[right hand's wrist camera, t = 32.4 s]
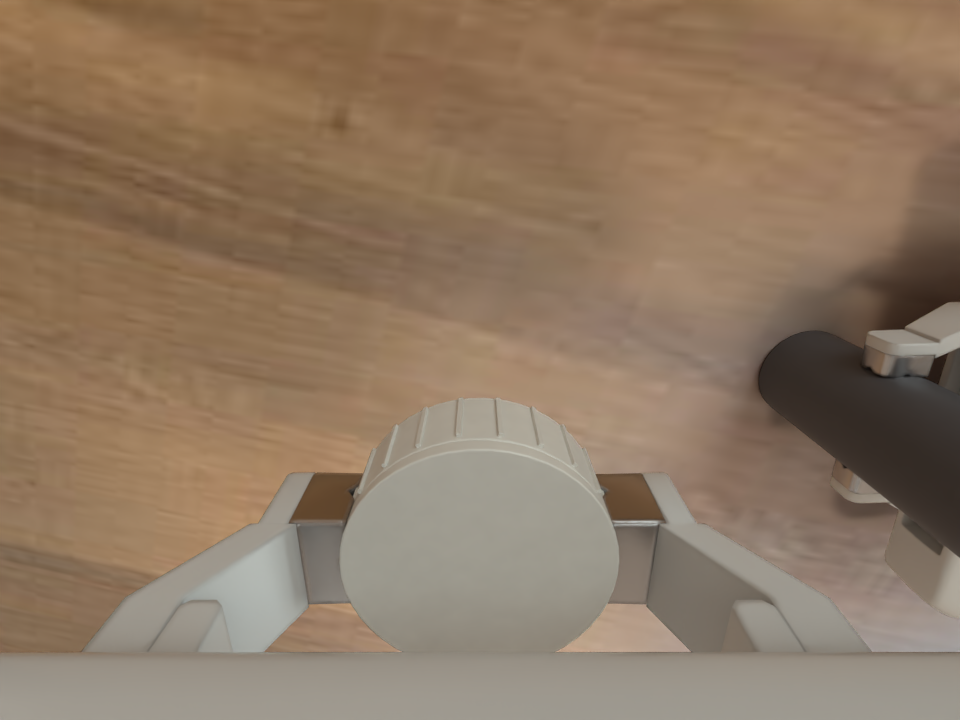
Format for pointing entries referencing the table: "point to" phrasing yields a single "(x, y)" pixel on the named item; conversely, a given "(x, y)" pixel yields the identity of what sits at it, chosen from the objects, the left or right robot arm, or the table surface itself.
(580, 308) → the table surface
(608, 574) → the cap
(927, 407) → the bottle
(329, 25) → the table surface
